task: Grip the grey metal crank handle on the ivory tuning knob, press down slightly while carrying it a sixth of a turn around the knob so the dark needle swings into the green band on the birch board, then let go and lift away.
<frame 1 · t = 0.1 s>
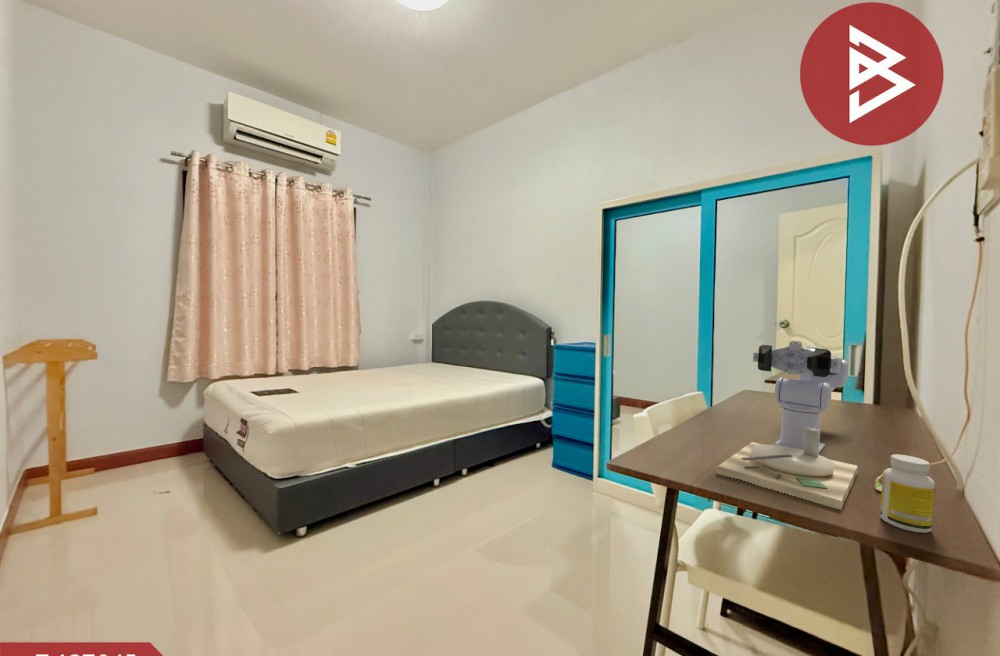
hand: (784, 360, 79), 22 cm above the table, tool horizontal, fingers open, 7 cm apart
tuning knob: (781, 447, 77), point 5 cm above the table, hinge at 0.0°
supplement bottle: (904, 525, 59), on the table
dial board: (788, 473, 77), on the table
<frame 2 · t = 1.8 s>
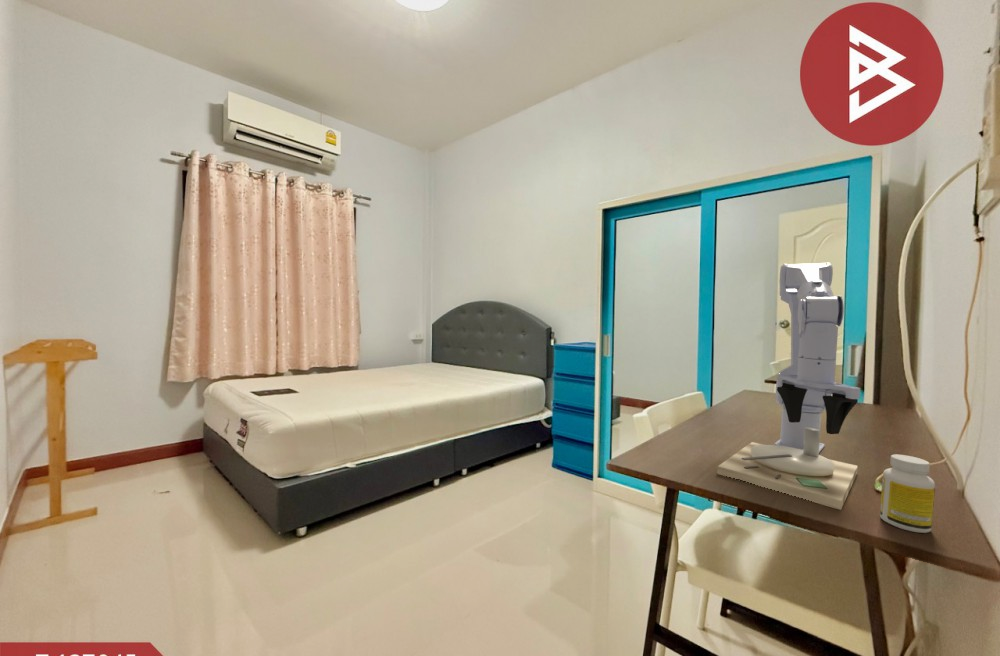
hand: (812, 427, 78), 9 cm above the table, tool pointing down, fingers open, 7 cm apart
nothing on the table moved.
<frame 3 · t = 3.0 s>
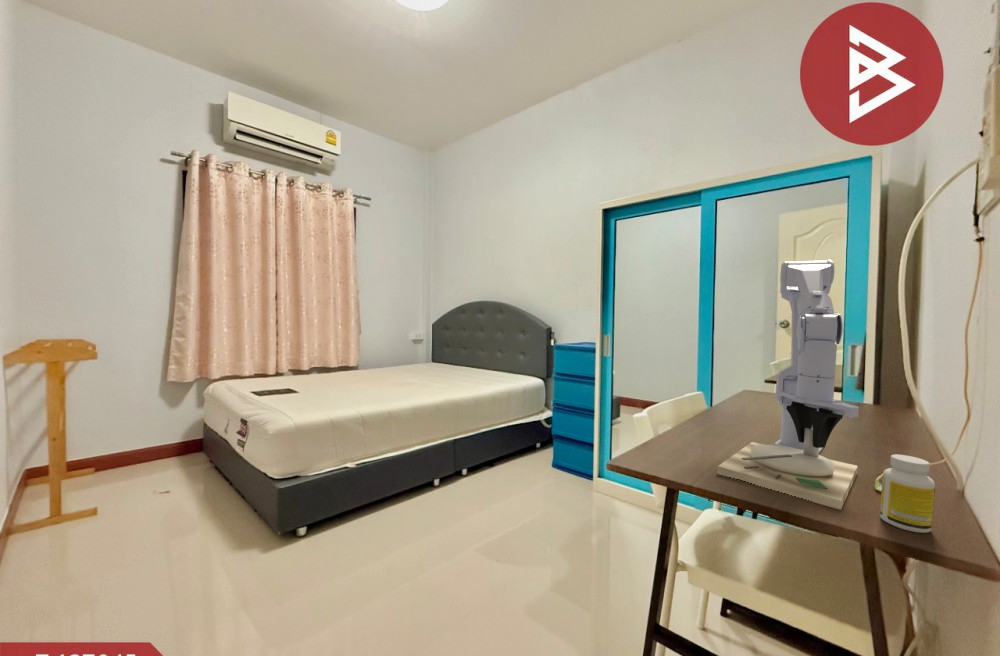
hand: (811, 444, 79), 5 cm above the table, tool pointing down, fingers closed on tuning knob, 2 cm apart
tuning knob: (781, 447, 77), point 5 cm above the table, hinge at 0.0°, touching gripper
everything else where it was.
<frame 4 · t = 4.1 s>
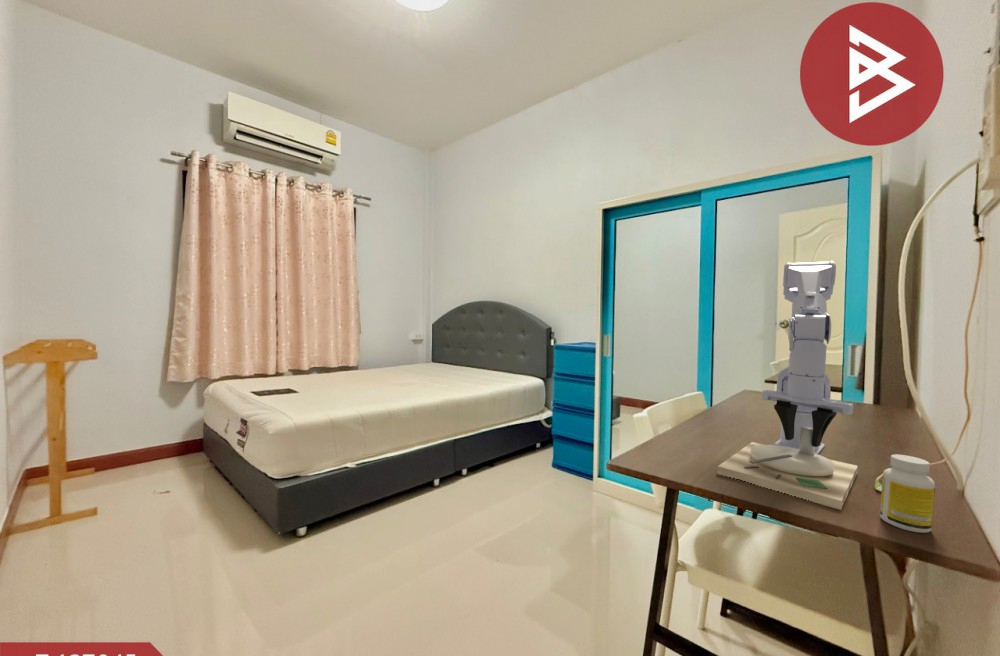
hand: (802, 442, 80), 5 cm above the table, tool pointing down, fingers open, 4 cm apart
tuning knob: (783, 447, 77), point 5 cm above the table, hinge at 8.9°, touching gripper
everything else where it was.
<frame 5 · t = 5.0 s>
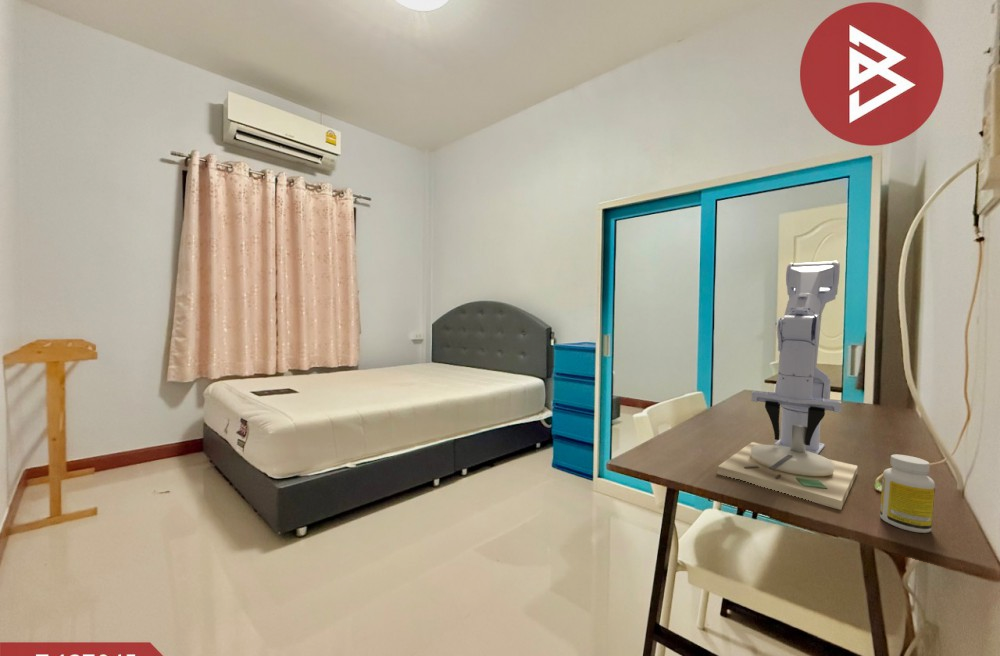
hand: (791, 441, 81), 5 cm above the table, tool pointing down, fingers open, 4 cm apart
tuning knob: (787, 448, 76), point 5 cm above the table, hinge at 26.5°, touching gripper
everything else where it was.
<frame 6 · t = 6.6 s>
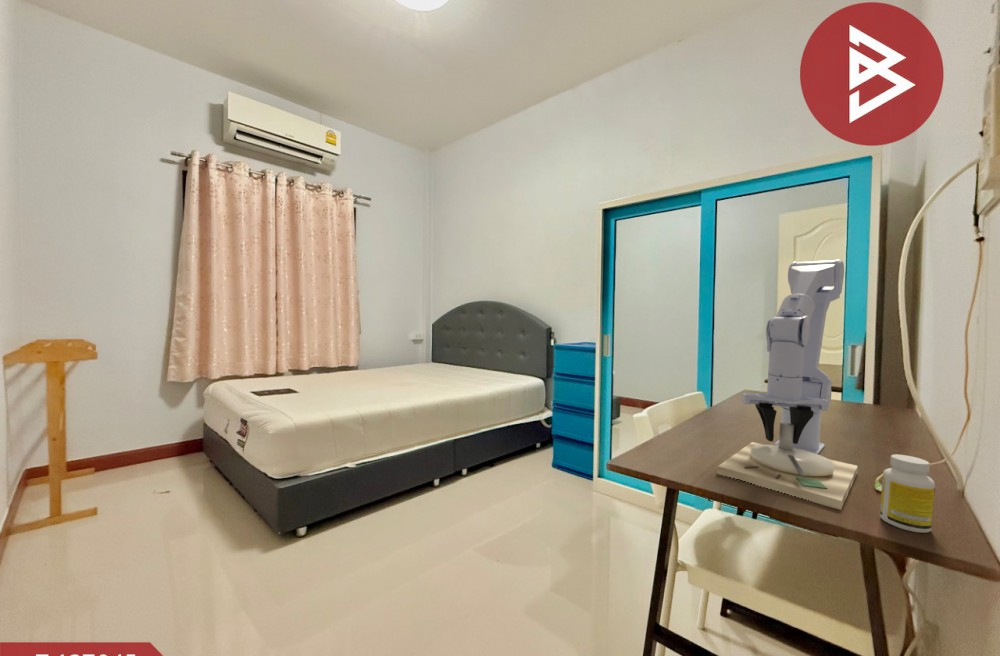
hand: (781, 441, 82), 5 cm above the table, tool pointing down, fingers open, 4 cm apart
tuning knob: (793, 449, 75), point 5 cm above the table, hinge at 49.8°, touching gripper
everything else where it was.
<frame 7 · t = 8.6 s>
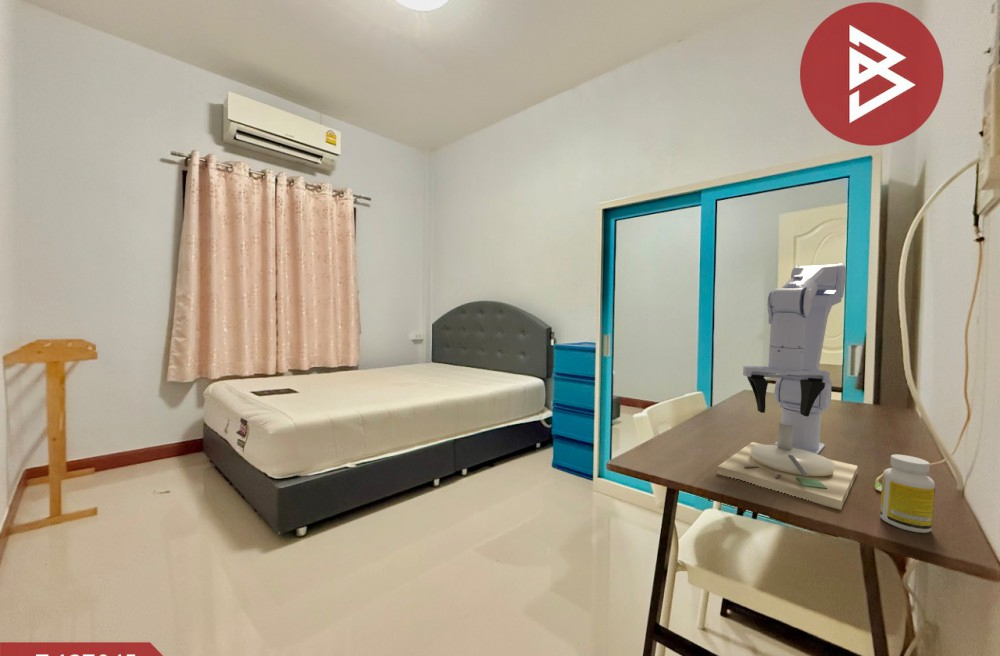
hand: (782, 413, 82), 10 cm above the table, tool pointing down, fingers open, 7 cm apart
tuning knob: (793, 450, 75), point 5 cm above the table, hinge at 52.3°
everything else where it was.
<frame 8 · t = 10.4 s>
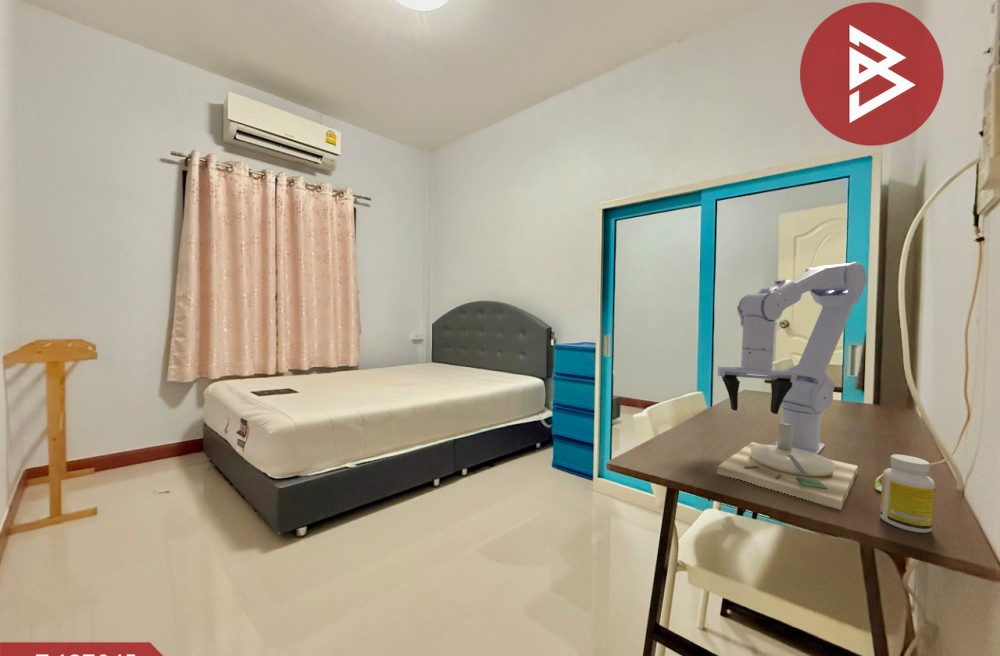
hand: (753, 411, 87), 9 cm above the table, tool pointing down, fingers open, 7 cm apart
nothing on the table moved.
at the end: tuning knob at +52° (first picture: +0°); the gripper is holding nothing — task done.
